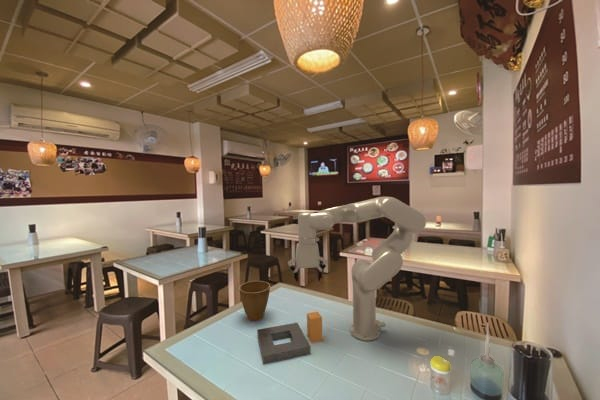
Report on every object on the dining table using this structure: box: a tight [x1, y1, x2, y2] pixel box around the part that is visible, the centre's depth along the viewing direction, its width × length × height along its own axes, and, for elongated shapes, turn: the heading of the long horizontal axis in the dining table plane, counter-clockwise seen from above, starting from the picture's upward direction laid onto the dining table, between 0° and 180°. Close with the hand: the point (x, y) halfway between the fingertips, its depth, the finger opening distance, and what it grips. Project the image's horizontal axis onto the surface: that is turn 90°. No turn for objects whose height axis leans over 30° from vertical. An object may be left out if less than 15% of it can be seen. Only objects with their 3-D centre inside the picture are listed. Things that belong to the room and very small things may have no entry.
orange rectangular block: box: [306, 311, 323, 344], centre depth 105 cm, size 5×5×10 cm
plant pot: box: [238, 280, 271, 322], centre depth 122 cm, size 15×15×16 cm
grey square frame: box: [256, 322, 311, 365], centre depth 101 cm, size 18×18×3 cm
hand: (308, 280), depth 107 cm, fingers open, 9 cm apart
